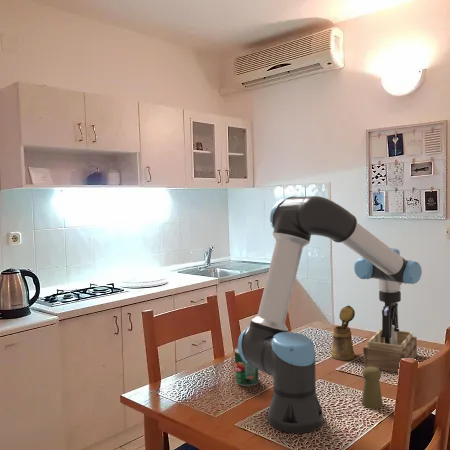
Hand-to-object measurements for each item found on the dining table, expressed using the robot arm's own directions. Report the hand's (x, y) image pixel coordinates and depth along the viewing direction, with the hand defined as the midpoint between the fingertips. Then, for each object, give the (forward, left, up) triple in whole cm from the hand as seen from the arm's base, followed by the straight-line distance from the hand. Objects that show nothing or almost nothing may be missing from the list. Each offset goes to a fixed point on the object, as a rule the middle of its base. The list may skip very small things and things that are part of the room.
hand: (390, 351), depth 172 cm
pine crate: (0, 0, -3) cm, 3 cm away
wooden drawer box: (0, 0, -3) cm, 3 cm away
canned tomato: (-55, +10, -4) cm, 56 cm away
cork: (-31, -24, -4) cm, 39 cm away
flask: (0, 0, -1) cm, 1 cm away
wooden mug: (-10, +14, -4) cm, 18 cm away
